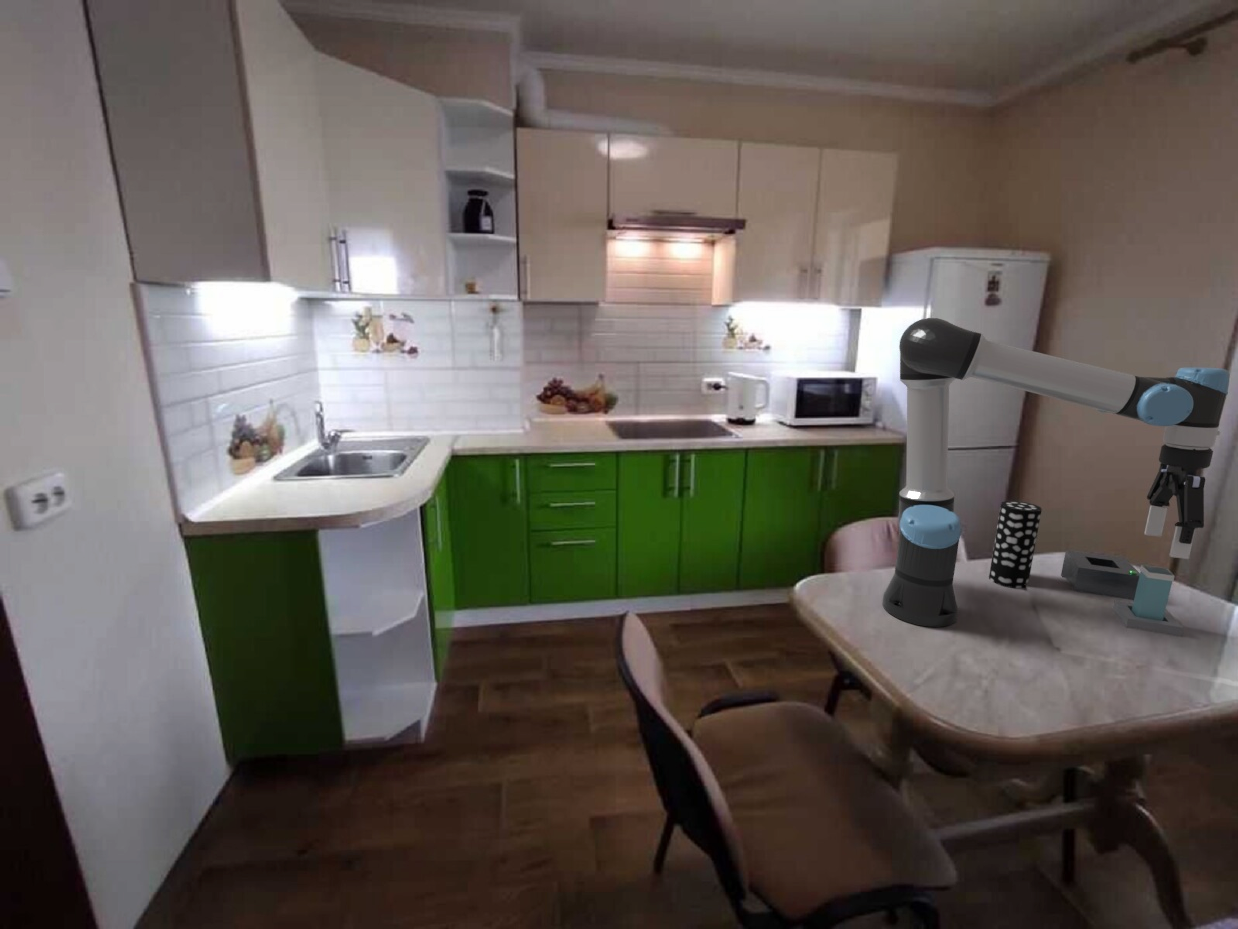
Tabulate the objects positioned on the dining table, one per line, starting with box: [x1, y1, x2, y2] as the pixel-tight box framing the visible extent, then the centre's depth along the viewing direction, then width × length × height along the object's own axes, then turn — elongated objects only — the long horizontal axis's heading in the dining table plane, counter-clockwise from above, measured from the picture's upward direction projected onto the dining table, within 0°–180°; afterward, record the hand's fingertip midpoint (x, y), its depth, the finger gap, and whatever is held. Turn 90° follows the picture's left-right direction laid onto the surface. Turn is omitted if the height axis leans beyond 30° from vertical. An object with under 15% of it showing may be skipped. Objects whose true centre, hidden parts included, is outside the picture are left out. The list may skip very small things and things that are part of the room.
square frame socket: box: [1111, 600, 1184, 637], centre depth 126 cm, size 9×9×3 cm
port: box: [1060, 549, 1140, 601], centre depth 143 cm, size 12×12×7 cm
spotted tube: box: [988, 500, 1043, 589], centre depth 146 cm, size 8×8×20 cm
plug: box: [1132, 564, 1175, 621], centre depth 125 cm, size 4×4×12 cm
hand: (1165, 545), depth 122 cm, fingers open, 13 cm apart
